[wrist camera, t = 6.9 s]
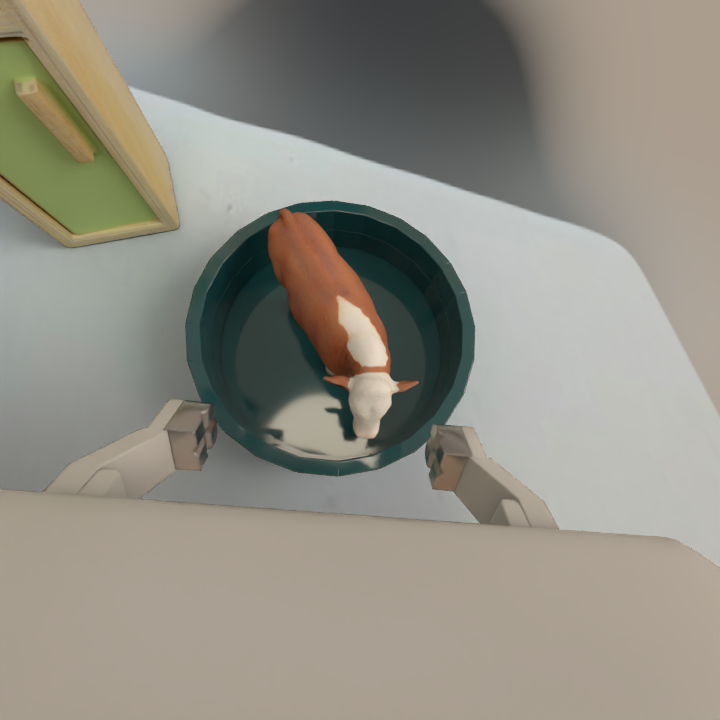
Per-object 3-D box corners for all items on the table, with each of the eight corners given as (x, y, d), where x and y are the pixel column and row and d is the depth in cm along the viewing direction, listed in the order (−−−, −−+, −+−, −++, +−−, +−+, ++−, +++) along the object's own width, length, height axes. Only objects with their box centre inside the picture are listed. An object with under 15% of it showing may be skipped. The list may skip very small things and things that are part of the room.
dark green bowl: (157, 368, 23) (117, 350, 19) (312, 202, 27) (309, 156, 23) (361, 524, 22) (370, 543, 17) (489, 325, 26) (522, 301, 22)
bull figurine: (343, 447, 22) (353, 449, 14) (269, 272, 25) (244, 191, 17) (403, 420, 23) (443, 407, 15) (326, 253, 26) (326, 167, 18)
